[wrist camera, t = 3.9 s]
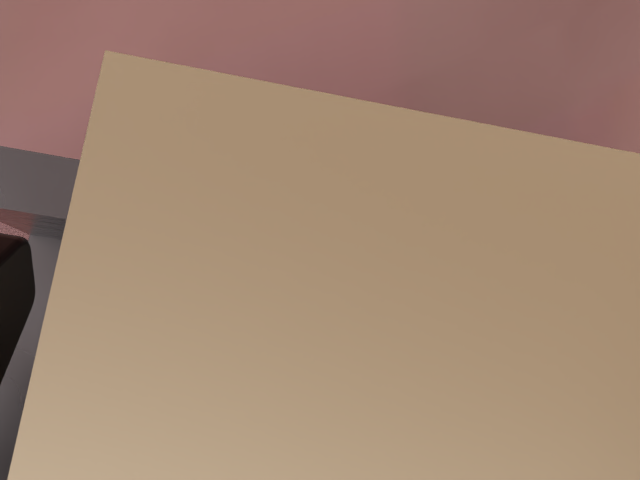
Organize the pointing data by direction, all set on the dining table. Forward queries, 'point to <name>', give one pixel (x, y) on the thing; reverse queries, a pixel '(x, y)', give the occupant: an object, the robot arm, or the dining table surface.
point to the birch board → (333, 294)
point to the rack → (45, 240)
